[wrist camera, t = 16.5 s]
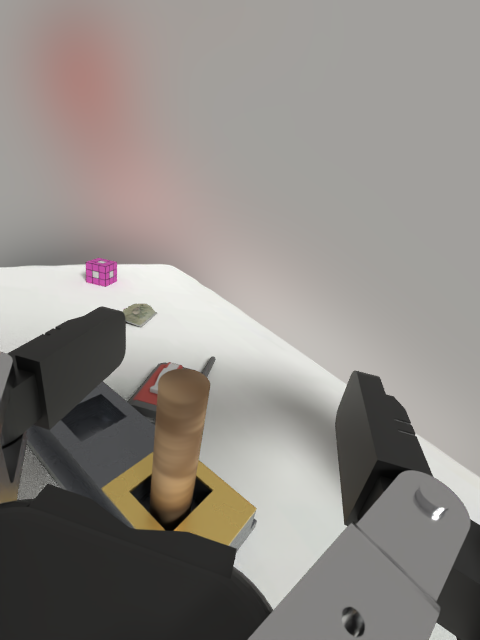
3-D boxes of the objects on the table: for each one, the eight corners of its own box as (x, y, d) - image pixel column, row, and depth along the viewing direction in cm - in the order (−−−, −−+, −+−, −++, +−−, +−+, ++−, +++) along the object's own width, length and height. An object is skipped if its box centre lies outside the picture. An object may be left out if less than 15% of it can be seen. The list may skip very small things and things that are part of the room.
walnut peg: (171, 487, 33) (185, 363, 26) (198, 512, 31) (220, 385, 24) (140, 514, 30) (147, 381, 23) (167, 544, 28) (183, 408, 21)
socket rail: (102, 393, 45) (102, 369, 44) (254, 526, 32) (263, 499, 30) (17, 431, 37) (12, 404, 35) (174, 636, 23) (179, 607, 21)
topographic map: (164, 308, 78) (164, 302, 77) (141, 328, 65) (141, 321, 65) (114, 298, 79) (114, 292, 78) (82, 317, 66) (81, 310, 66)
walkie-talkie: (180, 443, 40) (217, 365, 58) (183, 417, 38) (221, 345, 57) (118, 425, 41) (174, 354, 59) (118, 399, 39) (176, 334, 57)
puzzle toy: (116, 281, 88) (117, 262, 85) (105, 286, 82) (105, 266, 80) (98, 277, 88) (98, 257, 86) (86, 282, 83) (85, 262, 81)
